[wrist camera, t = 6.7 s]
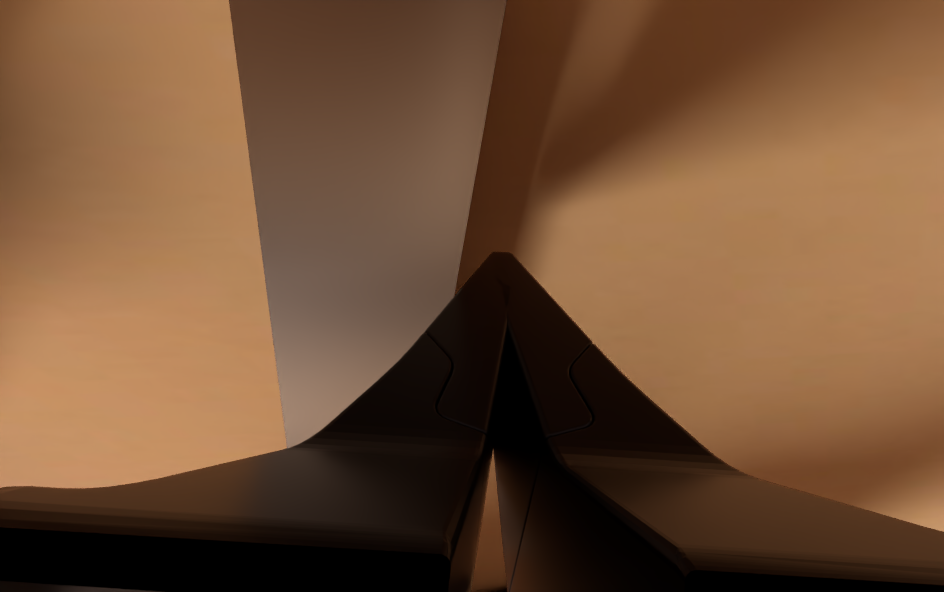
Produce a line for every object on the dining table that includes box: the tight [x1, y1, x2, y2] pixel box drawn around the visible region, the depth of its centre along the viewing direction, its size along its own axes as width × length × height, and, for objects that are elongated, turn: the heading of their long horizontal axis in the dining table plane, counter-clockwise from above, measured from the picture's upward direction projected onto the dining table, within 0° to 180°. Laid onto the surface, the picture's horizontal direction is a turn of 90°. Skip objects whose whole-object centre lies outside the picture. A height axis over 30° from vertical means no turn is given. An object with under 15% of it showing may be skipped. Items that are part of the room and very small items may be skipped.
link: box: [229, 0, 507, 448], centre depth 10 cm, size 15×4×2 cm, turn 171°
